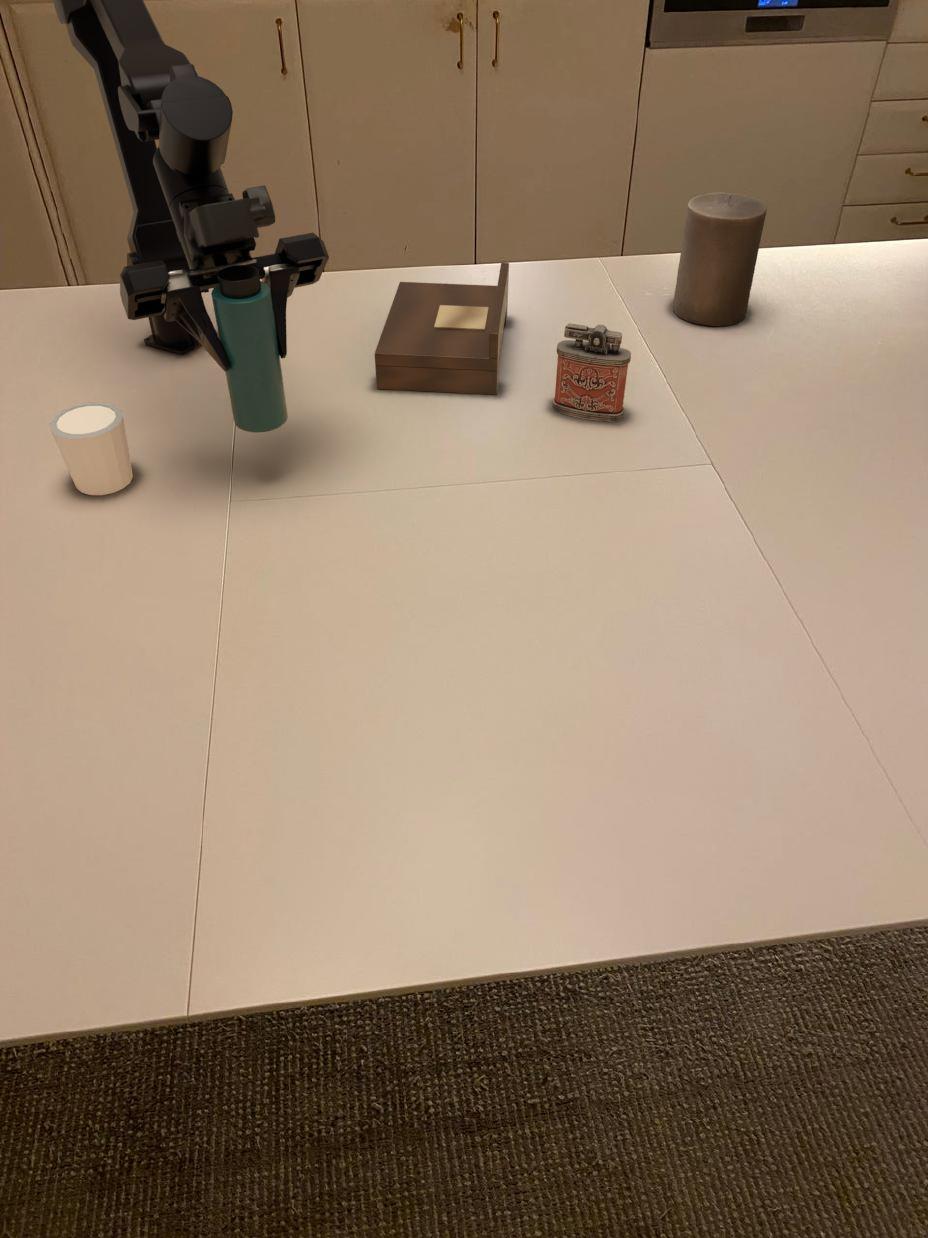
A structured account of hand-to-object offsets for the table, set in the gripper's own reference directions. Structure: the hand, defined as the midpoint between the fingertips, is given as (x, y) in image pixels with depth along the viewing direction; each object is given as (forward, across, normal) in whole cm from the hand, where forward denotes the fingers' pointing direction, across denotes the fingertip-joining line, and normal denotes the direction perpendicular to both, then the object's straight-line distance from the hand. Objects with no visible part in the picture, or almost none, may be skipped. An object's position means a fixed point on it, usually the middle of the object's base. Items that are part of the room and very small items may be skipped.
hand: (255, 363), depth 88 cm
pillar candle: (+1, +65, +17) cm, 67 cm away
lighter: (+12, +36, +7) cm, 38 cm away
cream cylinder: (+4, -15, +15) cm, 22 cm away
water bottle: (+4, 0, +6) cm, 7 cm away
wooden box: (-3, +28, +21) cm, 35 cm away
